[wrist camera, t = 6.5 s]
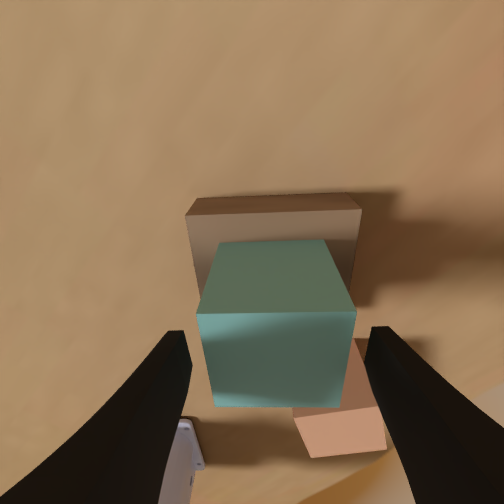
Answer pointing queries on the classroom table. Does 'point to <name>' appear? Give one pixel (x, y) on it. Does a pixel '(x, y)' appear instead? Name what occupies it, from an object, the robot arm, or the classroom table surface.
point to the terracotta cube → (344, 417)
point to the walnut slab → (274, 226)
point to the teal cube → (276, 325)
